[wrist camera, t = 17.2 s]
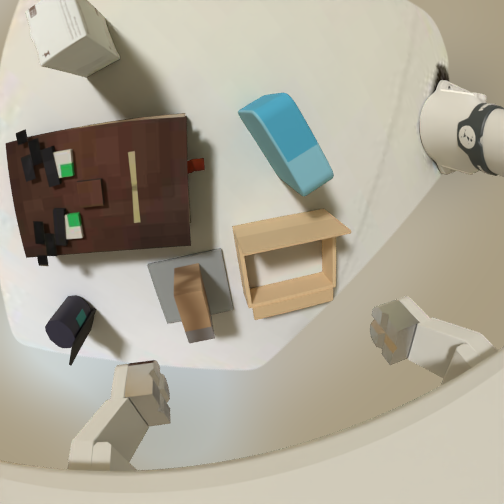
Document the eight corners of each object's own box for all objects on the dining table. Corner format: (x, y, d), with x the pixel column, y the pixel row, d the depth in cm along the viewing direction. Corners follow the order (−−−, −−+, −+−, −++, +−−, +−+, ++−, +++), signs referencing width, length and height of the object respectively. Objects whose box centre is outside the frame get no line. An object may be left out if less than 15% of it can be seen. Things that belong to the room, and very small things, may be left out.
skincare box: (121, 59, 34) (92, 37, 21) (83, 79, 34) (40, 70, 21) (103, 14, 30) (71, -21, 17) (66, 35, 30) (21, 11, 16)
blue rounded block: (302, 162, 46) (338, 180, 35) (278, 177, 46) (307, 200, 36) (262, 95, 40) (288, 91, 30) (235, 111, 41) (253, 112, 30)
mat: (220, 248, 49) (221, 249, 49) (232, 308, 55) (233, 309, 55) (147, 263, 48) (147, 265, 48) (167, 321, 54) (167, 323, 53)
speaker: (105, 313, 50) (88, 351, 41) (90, 330, 51) (72, 367, 42) (73, 285, 47) (49, 320, 38) (59, 304, 48) (36, 338, 39)
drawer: (323, 208, 50) (351, 230, 42) (325, 285, 57) (347, 315, 49) (232, 226, 48) (243, 253, 40) (245, 304, 55) (257, 339, 47)
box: (198, 262, 49) (202, 290, 42) (209, 307, 53) (214, 338, 46) (174, 268, 49) (173, 296, 42) (187, 312, 53) (189, 343, 46)
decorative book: (209, 255, 42) (14, 268, 36) (205, 233, 48) (32, 246, 42) (207, 106, 33) (-11, 139, 27) (203, 107, 40) (14, 132, 34)
